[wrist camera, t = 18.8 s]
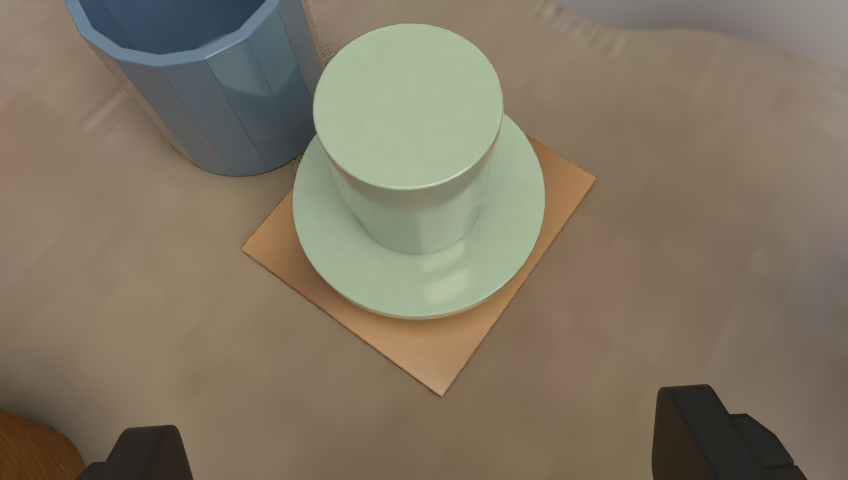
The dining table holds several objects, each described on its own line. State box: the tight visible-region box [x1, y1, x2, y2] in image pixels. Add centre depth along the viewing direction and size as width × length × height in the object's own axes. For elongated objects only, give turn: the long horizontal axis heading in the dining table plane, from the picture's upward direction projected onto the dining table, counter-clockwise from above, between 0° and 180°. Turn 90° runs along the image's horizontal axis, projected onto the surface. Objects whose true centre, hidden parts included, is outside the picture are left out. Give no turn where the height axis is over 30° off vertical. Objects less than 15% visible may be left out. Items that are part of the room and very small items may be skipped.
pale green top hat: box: [292, 23, 545, 320], centre depth 26 cm, size 10×10×10 cm
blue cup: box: [65, 0, 326, 176], centre depth 29 cm, size 8×8×9 cm
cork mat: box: [241, 134, 597, 398], centre depth 30 cm, size 11×12×1 cm
